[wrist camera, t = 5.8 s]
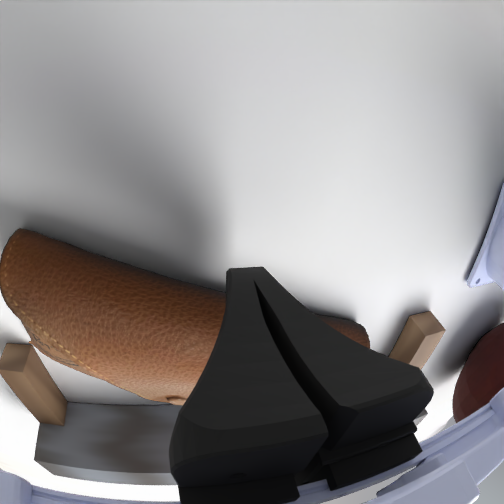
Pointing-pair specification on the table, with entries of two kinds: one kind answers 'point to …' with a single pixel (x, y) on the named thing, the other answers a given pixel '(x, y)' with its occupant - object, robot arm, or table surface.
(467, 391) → the potato
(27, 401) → the dock
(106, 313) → the sunglasses case
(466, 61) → the table surface
